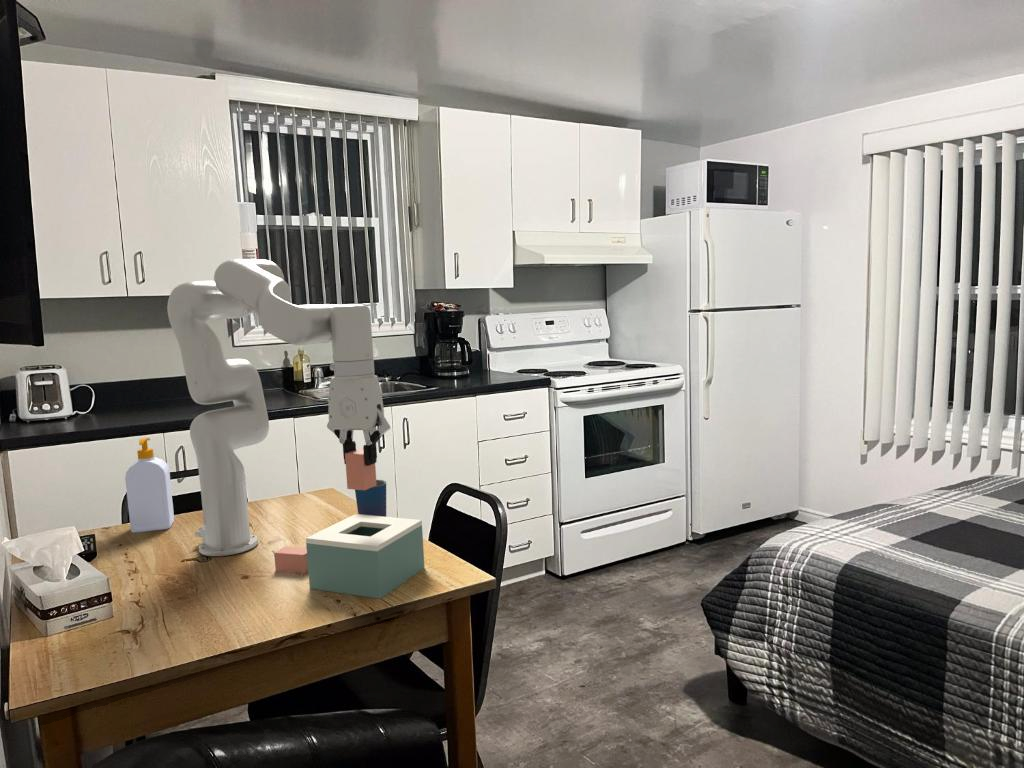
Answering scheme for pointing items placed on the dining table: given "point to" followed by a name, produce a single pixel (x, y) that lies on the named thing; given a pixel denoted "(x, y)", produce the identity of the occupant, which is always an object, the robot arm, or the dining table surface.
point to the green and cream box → (365, 555)
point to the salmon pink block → (359, 471)
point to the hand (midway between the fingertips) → (360, 462)
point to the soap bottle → (149, 492)
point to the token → (291, 559)
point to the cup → (372, 500)
